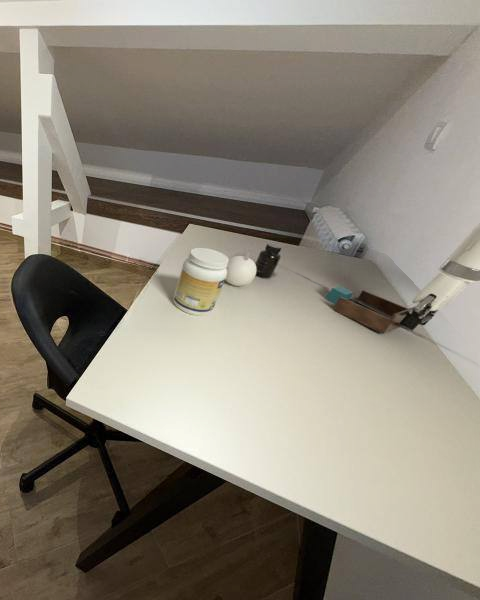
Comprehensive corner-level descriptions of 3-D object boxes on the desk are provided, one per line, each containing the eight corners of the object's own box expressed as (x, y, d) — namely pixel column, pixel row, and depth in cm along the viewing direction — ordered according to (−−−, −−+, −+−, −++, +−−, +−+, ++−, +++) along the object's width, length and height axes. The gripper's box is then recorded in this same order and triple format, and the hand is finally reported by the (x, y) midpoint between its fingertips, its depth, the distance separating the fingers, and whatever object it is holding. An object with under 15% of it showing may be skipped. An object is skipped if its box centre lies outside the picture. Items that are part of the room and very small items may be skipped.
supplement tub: (214, 320, 90) (236, 268, 80) (172, 311, 91) (188, 260, 82) (210, 298, 100) (229, 250, 90) (171, 291, 101) (186, 243, 92)
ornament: (251, 294, 105) (266, 262, 98) (219, 287, 107) (232, 255, 100) (247, 280, 113) (260, 250, 106) (217, 274, 115) (229, 244, 108)
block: (353, 292, 103) (339, 285, 106) (346, 294, 101) (332, 287, 104) (346, 303, 105) (332, 296, 108) (338, 306, 103) (325, 299, 107)
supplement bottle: (259, 269, 122) (272, 240, 115) (274, 277, 117) (289, 248, 110) (247, 271, 119) (260, 242, 112) (262, 280, 114) (277, 250, 107)
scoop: (424, 332, 92) (440, 313, 89) (401, 343, 87) (417, 322, 83) (356, 302, 106) (367, 284, 103) (332, 309, 101) (343, 290, 97)
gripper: (457, 260, 85) (410, 312, 96) (429, 267, 78) (381, 322, 89) (494, 273, 80) (440, 327, 90) (467, 282, 73) (412, 339, 83)
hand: (412, 324), depth 89 cm, fingers closed on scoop, 6 cm apart
